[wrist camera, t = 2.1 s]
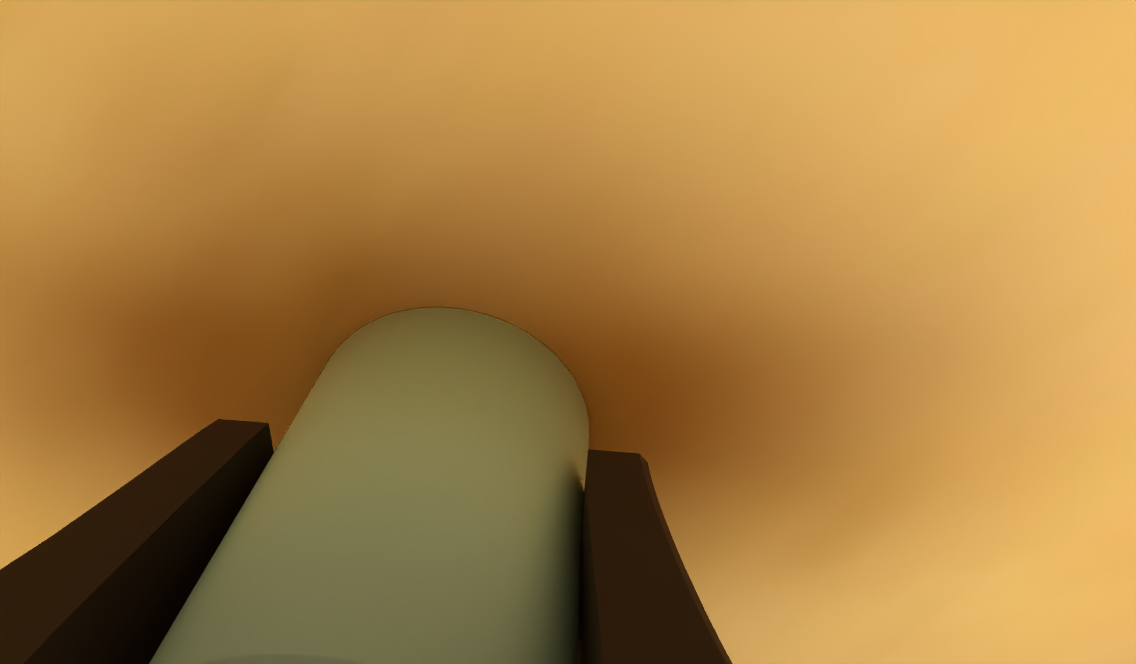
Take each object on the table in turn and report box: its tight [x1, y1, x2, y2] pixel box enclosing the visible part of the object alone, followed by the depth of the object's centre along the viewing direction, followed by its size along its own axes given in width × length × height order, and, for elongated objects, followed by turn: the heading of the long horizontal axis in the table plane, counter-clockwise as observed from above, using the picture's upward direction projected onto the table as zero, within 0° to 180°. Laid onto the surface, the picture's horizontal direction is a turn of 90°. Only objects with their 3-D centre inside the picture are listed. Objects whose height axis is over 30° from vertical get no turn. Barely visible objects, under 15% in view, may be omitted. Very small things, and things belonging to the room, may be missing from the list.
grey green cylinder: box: [149, 307, 589, 664], centre depth 9 cm, size 4×4×5 cm
